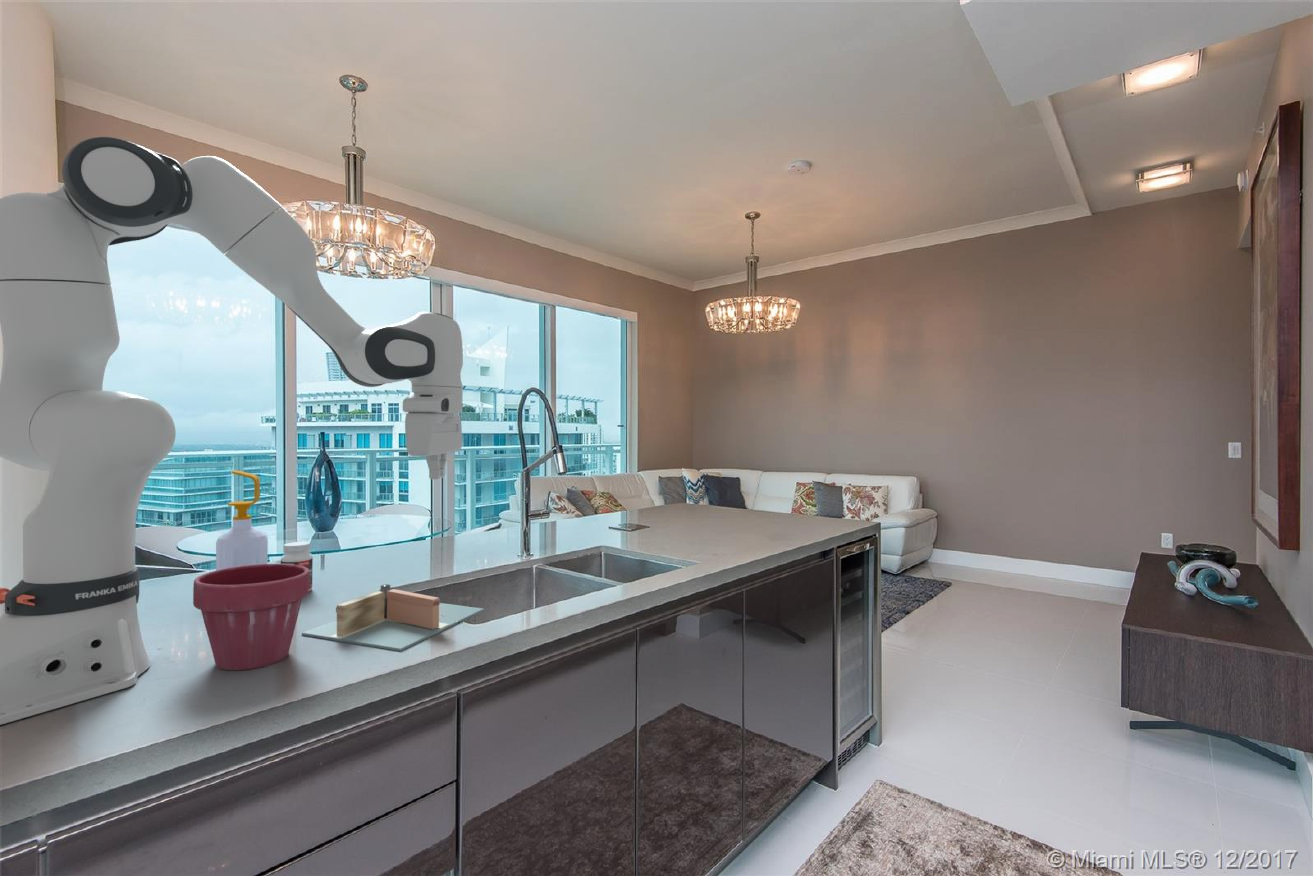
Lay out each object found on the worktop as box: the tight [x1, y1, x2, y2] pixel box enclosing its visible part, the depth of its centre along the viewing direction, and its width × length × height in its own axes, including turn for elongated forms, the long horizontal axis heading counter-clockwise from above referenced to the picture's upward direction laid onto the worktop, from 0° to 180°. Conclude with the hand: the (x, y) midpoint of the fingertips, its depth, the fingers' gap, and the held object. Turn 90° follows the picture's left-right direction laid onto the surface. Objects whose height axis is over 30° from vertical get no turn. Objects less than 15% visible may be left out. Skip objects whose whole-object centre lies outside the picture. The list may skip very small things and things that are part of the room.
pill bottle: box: [280, 541, 314, 592], centre depth 126 cm, size 6×6×10 cm
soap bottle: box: [215, 469, 269, 571], centre depth 129 cm, size 9×9×25 cm
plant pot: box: [192, 563, 310, 671], centre depth 90 cm, size 14×14×13 cm
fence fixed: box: [335, 590, 385, 636], centre depth 104 cm, size 9×2×5 cm, turn 162°
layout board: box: [301, 602, 485, 652], centre depth 108 cm, size 22×20×1 cm
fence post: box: [380, 583, 391, 619], centre depth 109 cm, size 2×2×6 cm
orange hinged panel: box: [386, 588, 441, 629], centre depth 106 cm, size 11×2×5 cm, turn 64°
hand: (436, 478), depth 112 cm, fingers closed
